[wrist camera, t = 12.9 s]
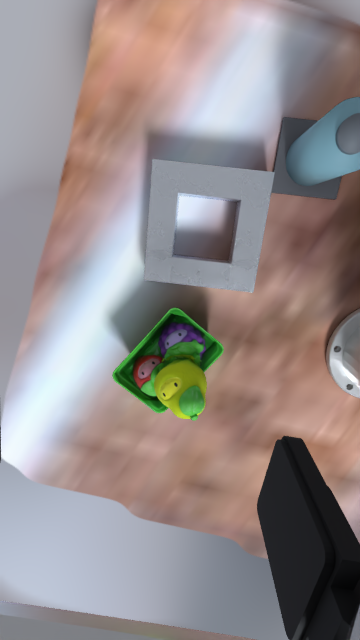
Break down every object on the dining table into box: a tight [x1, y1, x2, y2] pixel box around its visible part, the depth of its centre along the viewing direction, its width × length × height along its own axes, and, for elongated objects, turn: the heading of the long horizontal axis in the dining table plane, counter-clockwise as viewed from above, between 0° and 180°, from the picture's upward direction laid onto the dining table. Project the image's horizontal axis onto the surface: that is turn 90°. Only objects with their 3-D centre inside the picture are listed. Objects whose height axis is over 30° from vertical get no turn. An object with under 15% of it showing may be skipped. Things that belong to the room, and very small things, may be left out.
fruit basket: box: [112, 308, 224, 421], centre depth 34 cm, size 11×9×11 cm
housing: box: [144, 159, 275, 292], centre depth 33 cm, size 12×12×3 cm
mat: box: [271, 117, 342, 200], centre depth 32 cm, size 7×7×1 cm
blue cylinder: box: [286, 97, 360, 186], centre depth 27 cm, size 5×5×10 cm
